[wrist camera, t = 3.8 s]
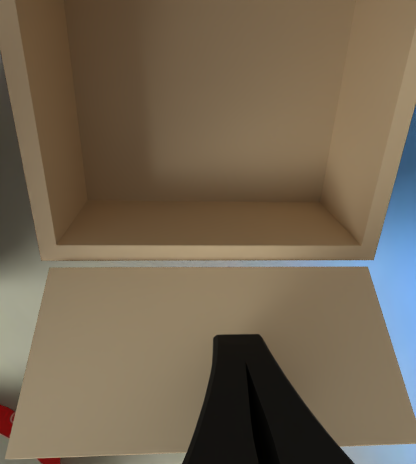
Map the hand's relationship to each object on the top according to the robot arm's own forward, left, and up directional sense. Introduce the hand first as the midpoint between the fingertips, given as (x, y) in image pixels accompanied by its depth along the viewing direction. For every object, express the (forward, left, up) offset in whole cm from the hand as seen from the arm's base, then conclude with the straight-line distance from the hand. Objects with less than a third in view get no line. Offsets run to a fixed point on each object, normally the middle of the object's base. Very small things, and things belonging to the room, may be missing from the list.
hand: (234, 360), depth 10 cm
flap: (0, 0, -1) cm, 1 cm away
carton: (+7, +3, -9) cm, 11 cm away
